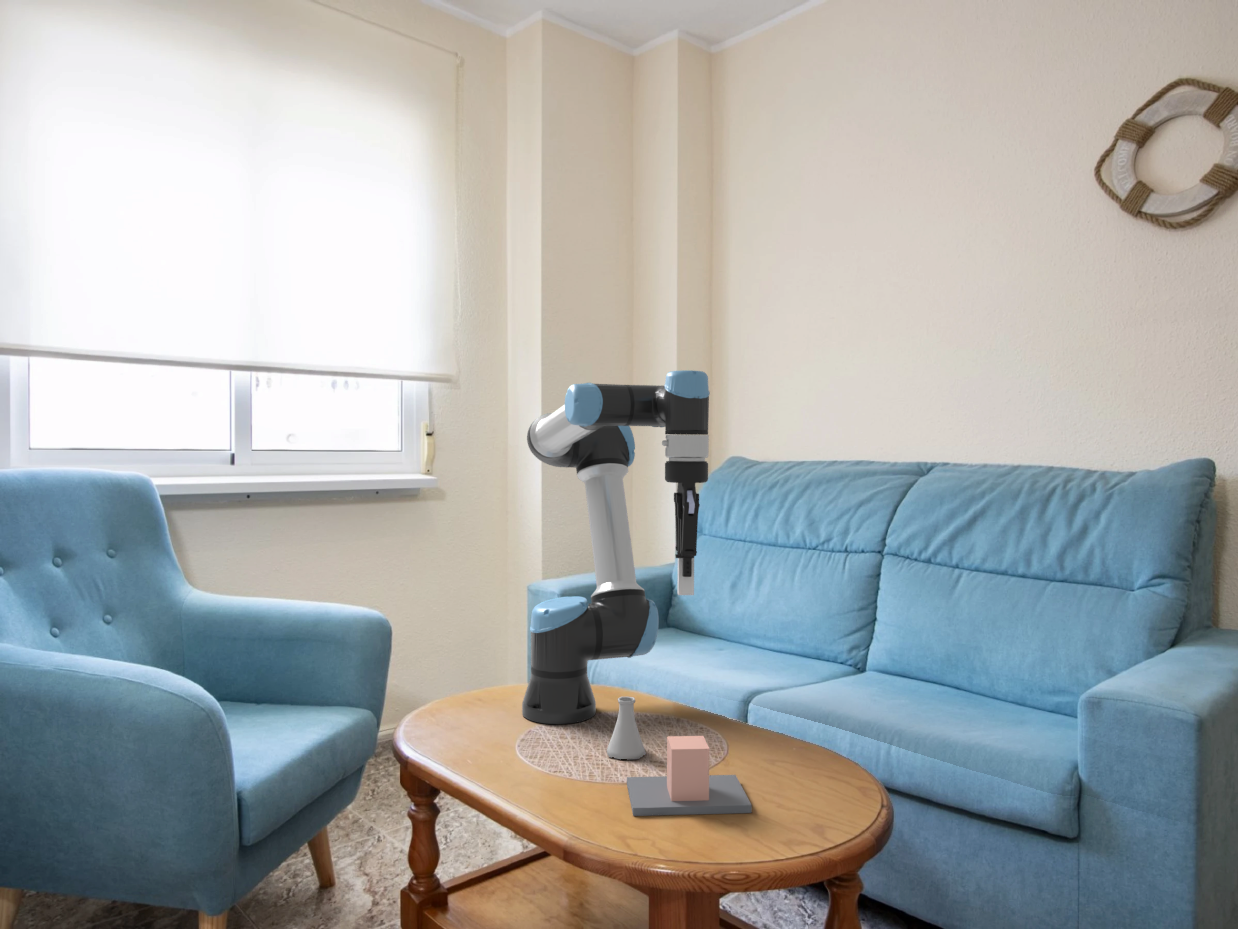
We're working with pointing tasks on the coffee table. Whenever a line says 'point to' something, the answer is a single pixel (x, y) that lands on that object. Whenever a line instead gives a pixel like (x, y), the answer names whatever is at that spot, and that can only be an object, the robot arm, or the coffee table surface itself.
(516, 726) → the coffee table surface
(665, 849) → the coffee table surface
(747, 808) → the post board
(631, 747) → the flask
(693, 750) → the pink upright block
